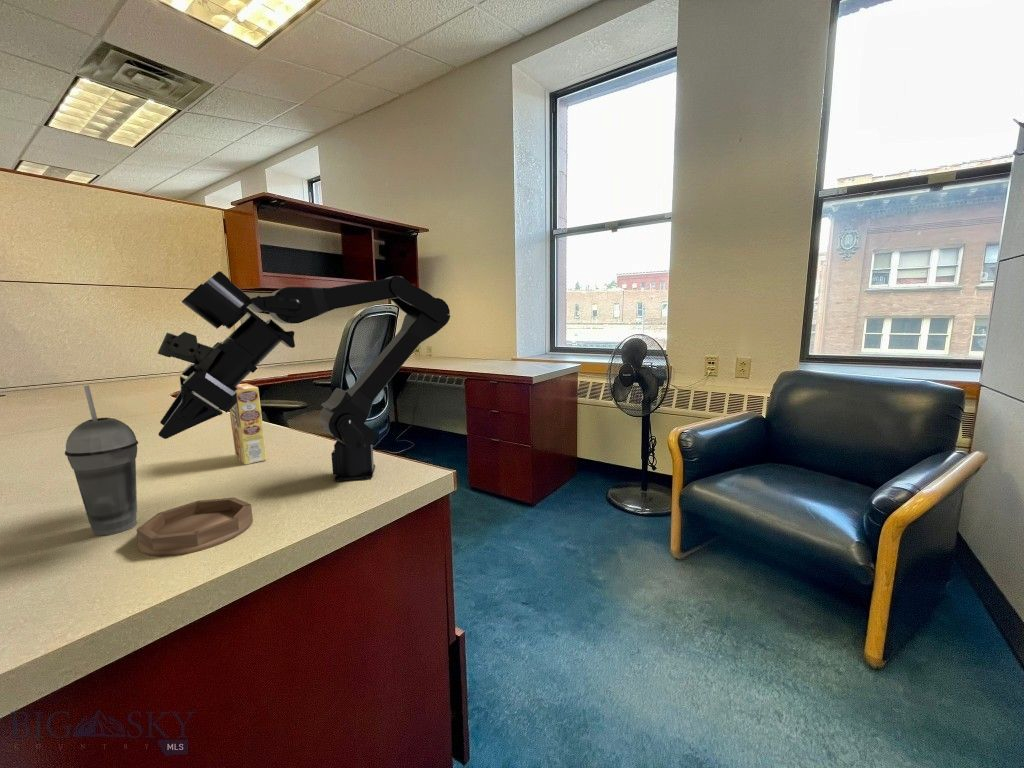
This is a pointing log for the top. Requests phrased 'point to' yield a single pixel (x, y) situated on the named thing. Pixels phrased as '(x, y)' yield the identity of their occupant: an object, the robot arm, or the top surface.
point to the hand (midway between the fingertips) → (162, 430)
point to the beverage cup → (105, 471)
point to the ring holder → (194, 526)
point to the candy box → (248, 425)
